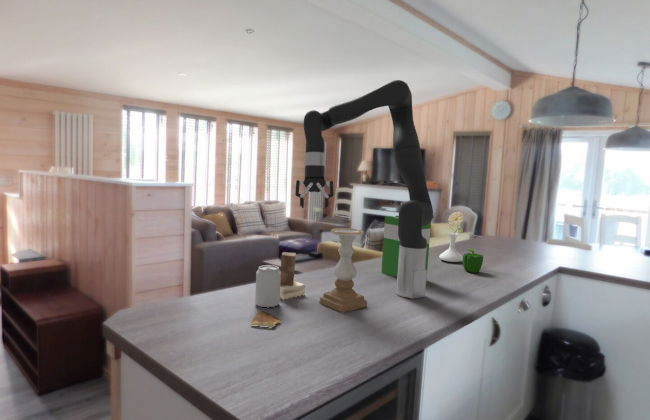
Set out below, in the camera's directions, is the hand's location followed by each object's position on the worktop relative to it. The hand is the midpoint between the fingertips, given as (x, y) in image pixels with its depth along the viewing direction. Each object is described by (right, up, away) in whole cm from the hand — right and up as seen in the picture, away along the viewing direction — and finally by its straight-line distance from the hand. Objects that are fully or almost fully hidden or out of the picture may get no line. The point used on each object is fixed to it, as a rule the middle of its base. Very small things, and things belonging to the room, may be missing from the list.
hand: (314, 208), depth 157 cm
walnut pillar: (-9, -25, -17) cm, 32 cm away
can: (-14, -30, -29) cm, 44 cm away
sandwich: (-14, -32, -43) cm, 55 cm away
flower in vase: (+66, -26, +48) cm, 86 cm away
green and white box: (+36, -28, +14) cm, 48 cm away
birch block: (-9, -29, -17) cm, 35 cm away
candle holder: (+10, -31, -25) cm, 41 cm away
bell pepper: (+70, -28, +29) cm, 80 cm away
